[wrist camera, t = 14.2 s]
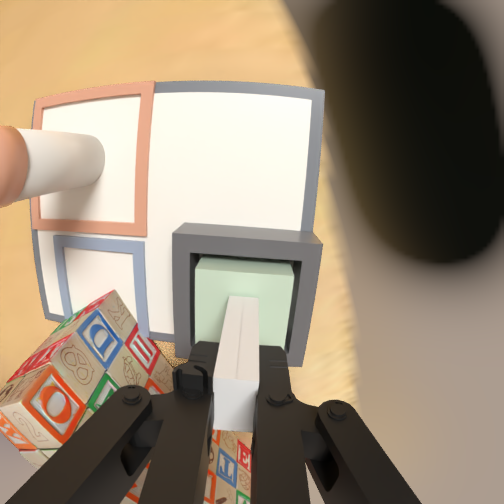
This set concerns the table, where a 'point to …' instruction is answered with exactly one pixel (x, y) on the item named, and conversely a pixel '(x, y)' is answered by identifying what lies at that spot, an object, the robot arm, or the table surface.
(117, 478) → the robot arm
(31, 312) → the table surface
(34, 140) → the marker
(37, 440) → the stack of blocks
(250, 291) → the button
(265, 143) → the board
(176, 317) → the button housing
